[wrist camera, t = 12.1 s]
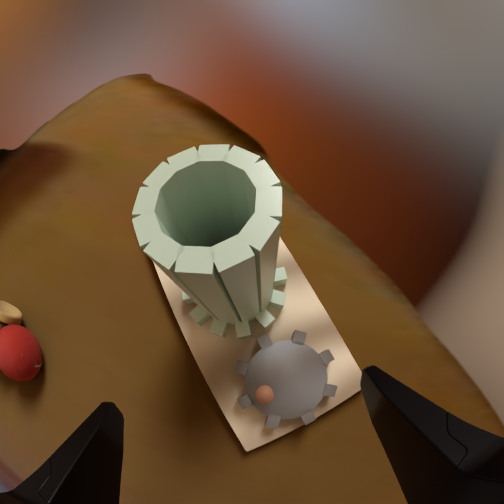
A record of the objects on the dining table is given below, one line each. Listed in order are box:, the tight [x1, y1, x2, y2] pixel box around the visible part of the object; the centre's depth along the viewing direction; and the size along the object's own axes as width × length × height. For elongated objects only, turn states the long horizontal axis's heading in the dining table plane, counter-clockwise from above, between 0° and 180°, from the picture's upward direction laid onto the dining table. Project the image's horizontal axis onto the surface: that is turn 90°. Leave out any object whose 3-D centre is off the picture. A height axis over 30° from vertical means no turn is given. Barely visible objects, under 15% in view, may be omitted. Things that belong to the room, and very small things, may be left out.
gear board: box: [153, 238, 362, 452], centre depth 22 cm, size 25×11×5 cm, turn 28°
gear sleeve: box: [132, 144, 287, 339], centre depth 17 cm, size 8×8×13 cm
